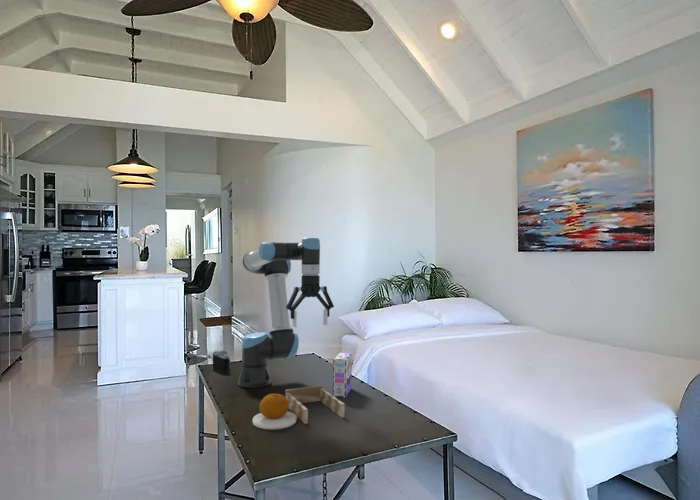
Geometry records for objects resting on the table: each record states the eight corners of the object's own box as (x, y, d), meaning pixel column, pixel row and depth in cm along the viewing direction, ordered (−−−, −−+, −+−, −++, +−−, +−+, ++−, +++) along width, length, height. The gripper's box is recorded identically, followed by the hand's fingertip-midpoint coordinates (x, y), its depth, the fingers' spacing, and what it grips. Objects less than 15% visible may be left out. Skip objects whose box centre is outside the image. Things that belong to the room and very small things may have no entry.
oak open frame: (285, 404, 187) (285, 389, 187) (321, 399, 193) (321, 385, 194) (304, 423, 166) (304, 407, 166) (344, 417, 173) (344, 401, 173)
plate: (248, 417, 172) (248, 413, 172) (289, 411, 179) (289, 407, 179) (258, 432, 157) (258, 428, 157) (302, 425, 164) (302, 421, 164)
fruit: (283, 422, 163) (284, 400, 163) (255, 420, 165) (255, 398, 165) (292, 412, 173) (292, 391, 173) (265, 410, 175) (265, 389, 175)
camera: (235, 371, 239) (236, 352, 239) (223, 373, 234) (223, 353, 234) (223, 365, 250) (223, 347, 250) (211, 367, 245) (211, 349, 245)
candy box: (345, 398, 196) (346, 359, 196) (332, 397, 197) (332, 358, 197) (352, 388, 209) (352, 352, 209) (339, 387, 210) (339, 352, 210)
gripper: (284, 275, 182) (283, 329, 182) (341, 274, 193) (341, 325, 193) (279, 274, 189) (278, 326, 189) (334, 273, 200) (334, 322, 199)
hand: (310, 325), depth 191 cm, fingers open, 13 cm apart
